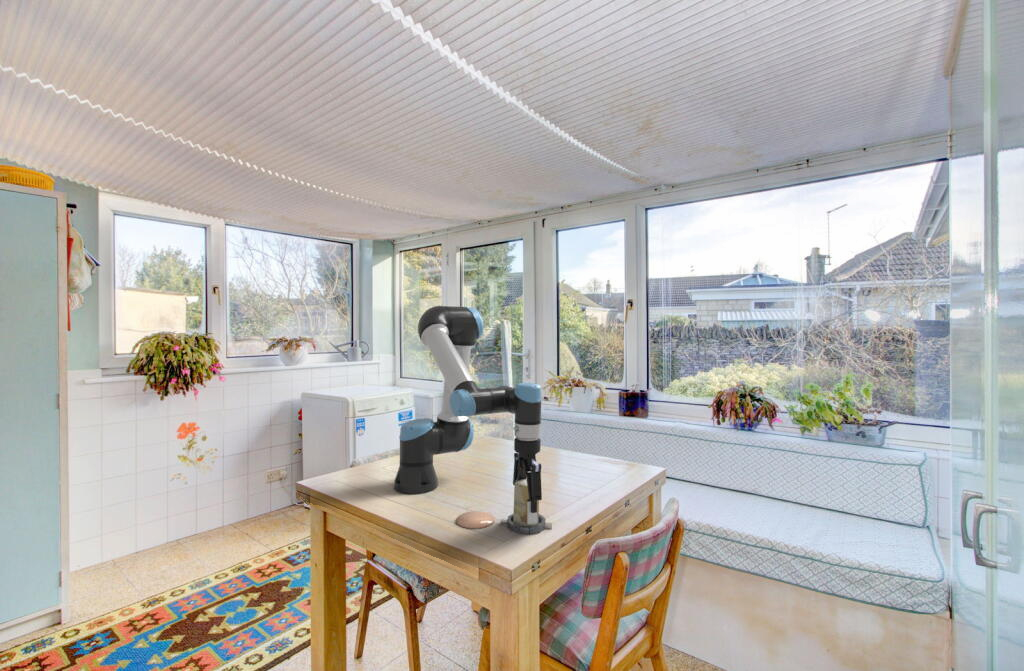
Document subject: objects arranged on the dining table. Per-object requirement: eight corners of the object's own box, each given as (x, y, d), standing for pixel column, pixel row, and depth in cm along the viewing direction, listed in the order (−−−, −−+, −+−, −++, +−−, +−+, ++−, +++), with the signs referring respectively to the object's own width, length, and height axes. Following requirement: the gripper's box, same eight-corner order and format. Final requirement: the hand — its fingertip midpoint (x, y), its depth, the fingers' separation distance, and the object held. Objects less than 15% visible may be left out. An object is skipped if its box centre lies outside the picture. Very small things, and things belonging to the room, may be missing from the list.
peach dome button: (452, 527, 127) (452, 525, 127) (461, 512, 138) (461, 510, 138) (490, 530, 126) (490, 528, 126) (497, 514, 137) (497, 512, 137)
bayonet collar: (498, 532, 125) (498, 525, 125) (503, 516, 135) (503, 510, 135) (550, 535, 123) (551, 529, 123) (552, 519, 133) (552, 513, 133)
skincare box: (512, 524, 129) (513, 482, 129) (521, 519, 133) (521, 478, 133) (531, 530, 125) (531, 486, 125) (539, 525, 129) (540, 482, 129)
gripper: (502, 431, 137) (501, 506, 137) (530, 447, 118) (528, 534, 118) (525, 429, 140) (523, 503, 140) (555, 444, 121) (554, 530, 121)
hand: (526, 517), depth 129 cm, fingers closed on skincare box, 7 cm apart
